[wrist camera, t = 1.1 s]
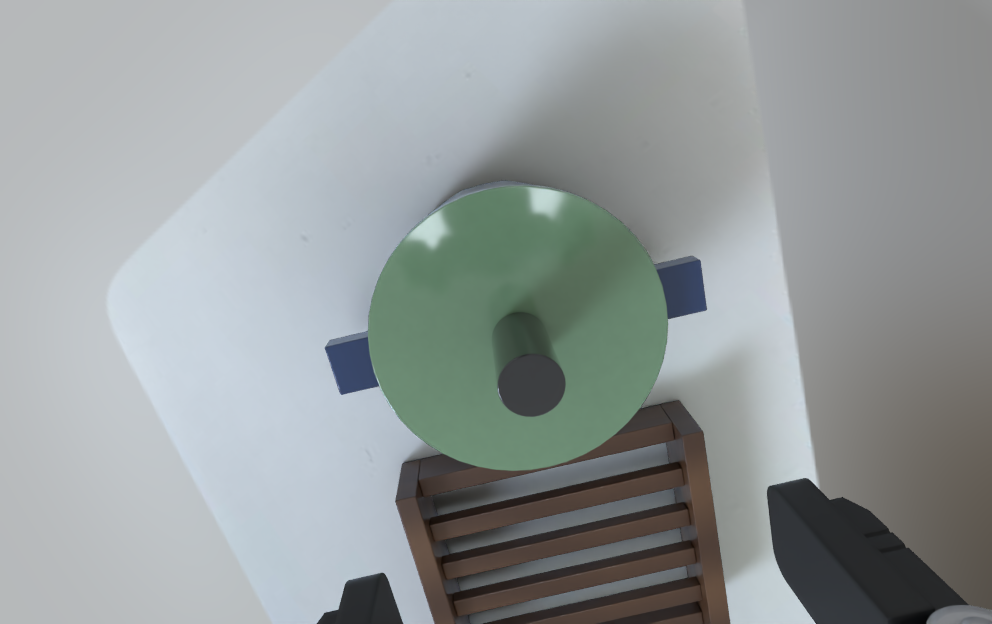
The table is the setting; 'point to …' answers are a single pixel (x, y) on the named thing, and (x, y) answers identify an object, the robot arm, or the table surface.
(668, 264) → the pot
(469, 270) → the lid
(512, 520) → the plate rack
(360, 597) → the robot arm
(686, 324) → the table surface
